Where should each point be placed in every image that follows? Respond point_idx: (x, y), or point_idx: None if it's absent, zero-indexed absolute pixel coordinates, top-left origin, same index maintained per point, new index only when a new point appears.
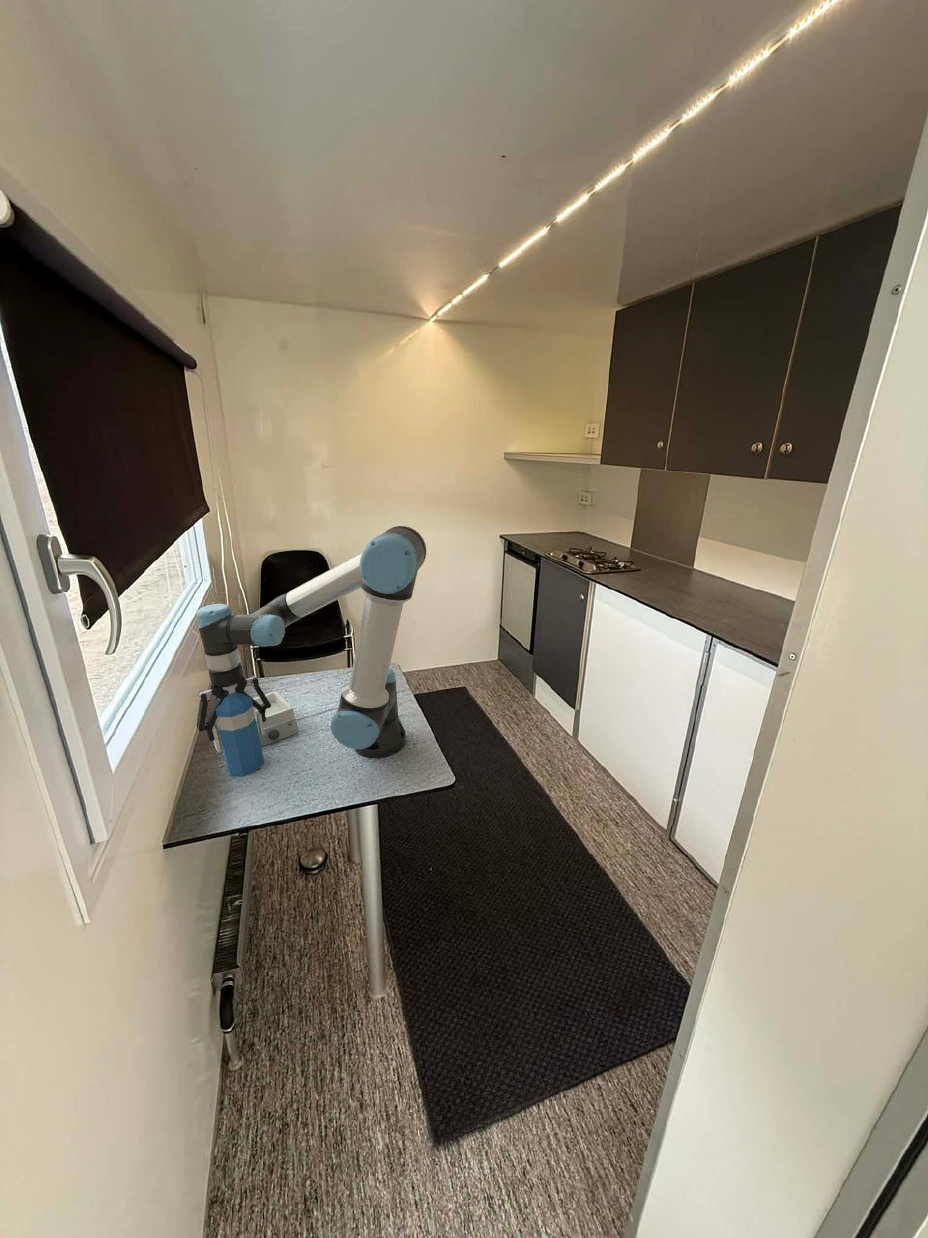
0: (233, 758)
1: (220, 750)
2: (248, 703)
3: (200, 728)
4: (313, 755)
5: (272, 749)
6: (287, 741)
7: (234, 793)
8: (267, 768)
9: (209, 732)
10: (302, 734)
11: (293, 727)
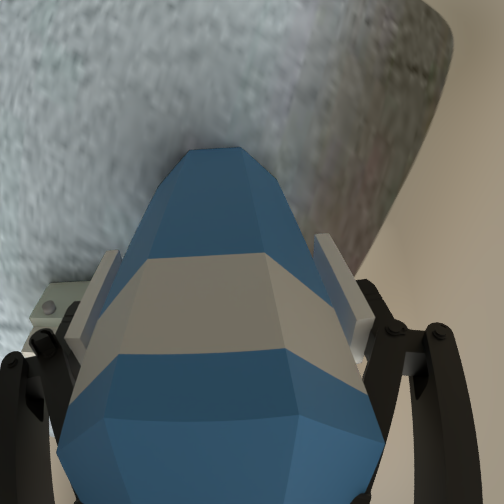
0: (268, 189)
1: (317, 236)
2: (74, 437)
3: (446, 337)
4: (15, 137)
5: (122, 243)
6: (77, 258)
7: (292, 71)
8: (155, 143)
9: (383, 317)
10: (38, 267)
11: (49, 297)
